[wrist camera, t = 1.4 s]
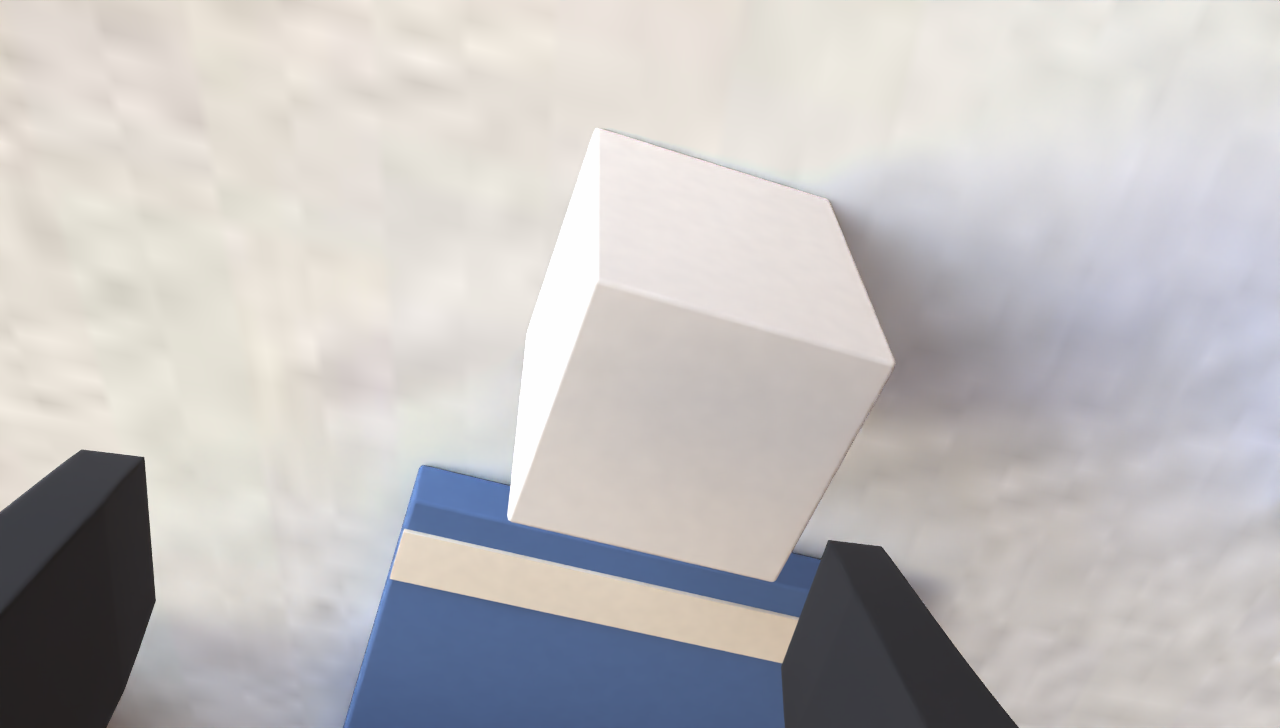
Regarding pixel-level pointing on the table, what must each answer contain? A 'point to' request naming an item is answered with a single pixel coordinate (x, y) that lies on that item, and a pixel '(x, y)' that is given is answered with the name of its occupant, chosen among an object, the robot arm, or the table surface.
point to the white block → (692, 362)
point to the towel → (564, 628)
